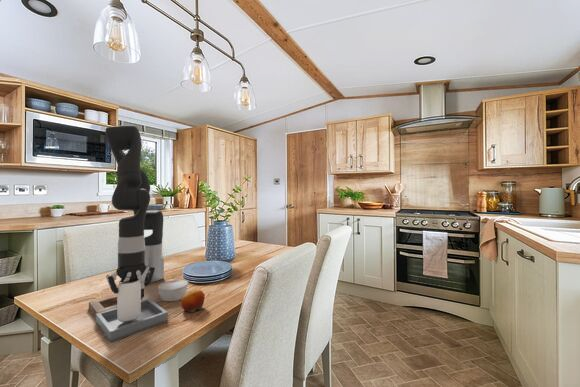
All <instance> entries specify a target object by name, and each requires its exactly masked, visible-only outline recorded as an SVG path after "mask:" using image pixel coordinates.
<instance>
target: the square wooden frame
mask: <svg viewBox="0 0 580 387" xmlns="http://www.w3.org/2000/svg"><path fill="white" fill-rule="evenodd" d="M114 308H117V294H114V295H110V296H106V297H102V298H99V299H96V300H90V301H88V309H89V311H90V312H91V314H92V315H93V316H94V318H96V314H97V313H101V312H104V311H108V310H111V309H114Z"/></svg>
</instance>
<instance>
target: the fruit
mask: <svg viewBox="0 0 580 387" xmlns="http://www.w3.org/2000/svg"><path fill="white" fill-rule="evenodd" d="M205 296H206V295H205V292H204V291H202V290H201V289H191V290H190V291H189V292H188V291H187V292H186V294H185V295H184V296H183V297H182V299H180V304H181V308H182V309H183V311H185V312H188V313H190V312H191V313H195V312H196V310H199V309H203V310H204V308H203V306H204V304H205V303H204V302H205V299H206V298H205Z"/></svg>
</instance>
